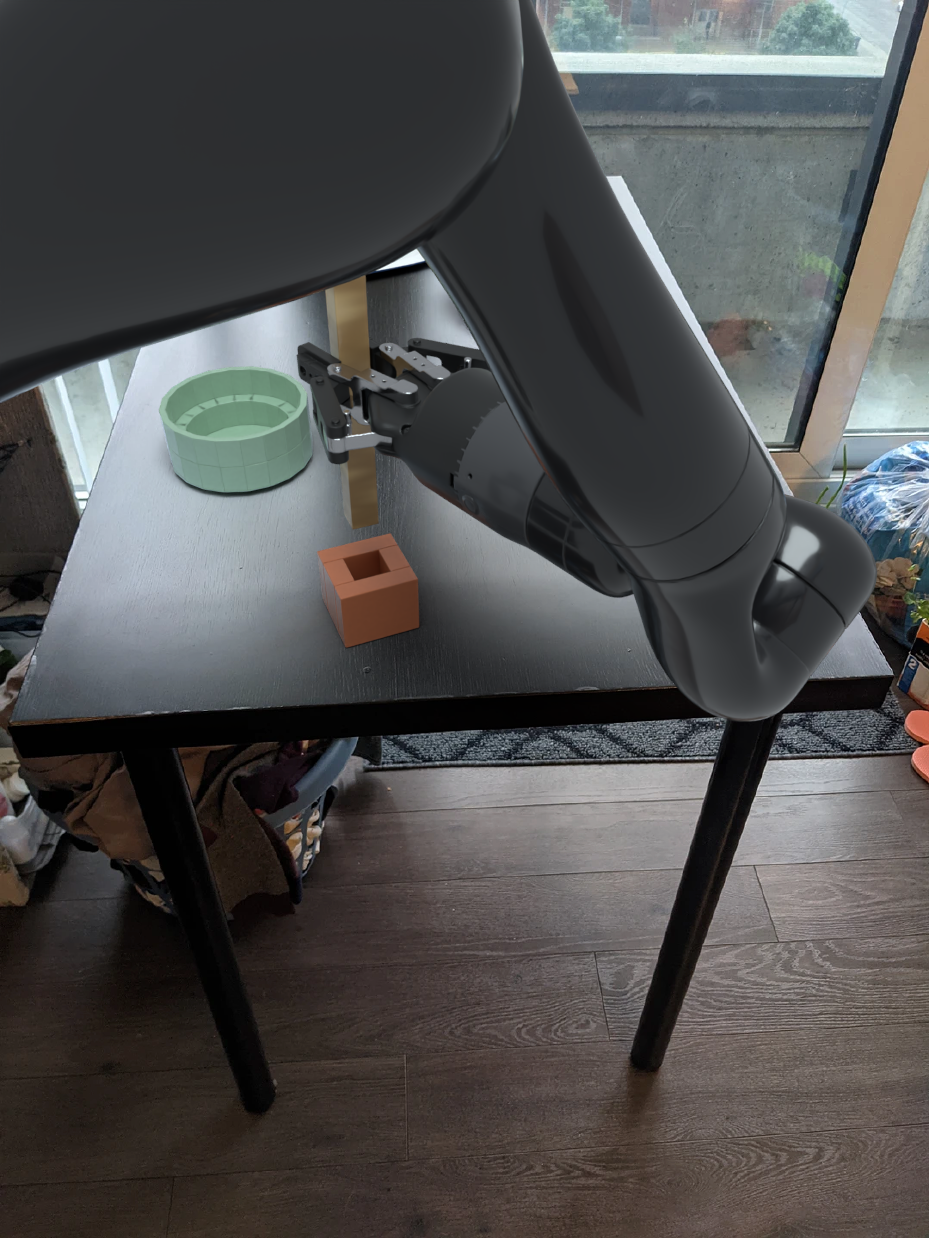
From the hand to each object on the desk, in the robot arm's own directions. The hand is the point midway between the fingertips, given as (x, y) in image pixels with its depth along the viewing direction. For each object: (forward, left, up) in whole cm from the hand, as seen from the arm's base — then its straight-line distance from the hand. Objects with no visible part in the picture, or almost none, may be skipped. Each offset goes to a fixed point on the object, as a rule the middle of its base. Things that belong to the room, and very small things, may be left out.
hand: (322, 350), depth 62 cm
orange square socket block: (+1, -3, -21) cm, 21 cm away
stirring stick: (+1, -3, -12) cm, 12 cm away
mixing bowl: (-3, +23, -21) cm, 31 cm away
